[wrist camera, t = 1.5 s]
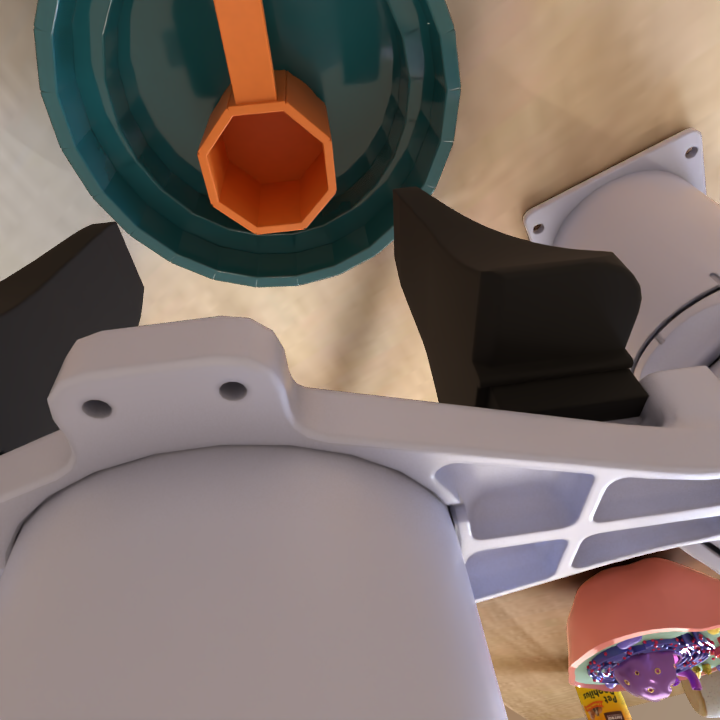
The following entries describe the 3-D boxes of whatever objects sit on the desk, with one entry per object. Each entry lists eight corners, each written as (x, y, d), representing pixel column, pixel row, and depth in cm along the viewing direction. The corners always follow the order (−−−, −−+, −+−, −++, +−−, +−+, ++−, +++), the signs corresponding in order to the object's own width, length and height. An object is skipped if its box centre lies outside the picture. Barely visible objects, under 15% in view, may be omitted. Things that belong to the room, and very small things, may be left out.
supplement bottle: (605, 655, 71) (642, 745, 64) (610, 665, 75) (645, 752, 67) (565, 665, 73) (597, 754, 65) (572, 675, 76) (602, 761, 69)
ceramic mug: (677, 655, 75) (708, 718, 69) (736, 643, 73) (773, 706, 68) (669, 674, 82) (697, 733, 76) (723, 663, 81) (755, 722, 75)
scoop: (333, 178, 22) (340, 225, 19) (230, 190, 22) (220, 239, 19) (306, -79, 16) (310, -72, 13) (166, -66, 16) (137, -56, 13)
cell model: (643, 613, 62) (698, 725, 54) (504, 602, 56) (542, 728, 47) (760, 542, 52) (851, 666, 44) (607, 518, 46) (679, 659, 37)
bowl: (480, 143, 22) (511, 184, 19) (235, 281, 26) (227, 335, 22) (320, -277, 14) (328, -325, 11) (-8, 7, 17) (-73, 31, 14)
